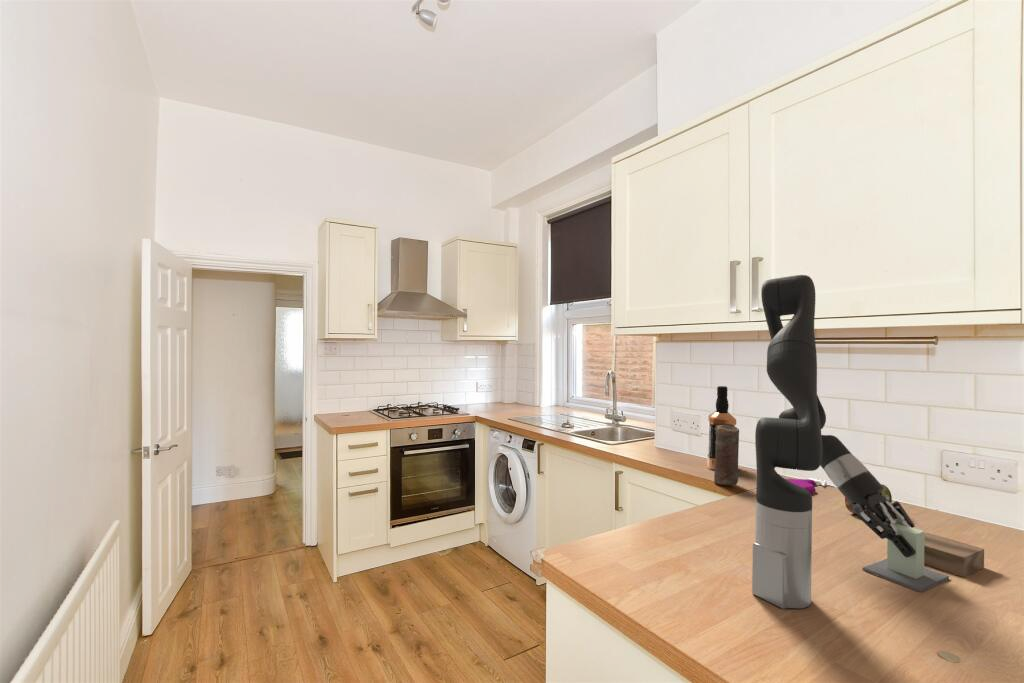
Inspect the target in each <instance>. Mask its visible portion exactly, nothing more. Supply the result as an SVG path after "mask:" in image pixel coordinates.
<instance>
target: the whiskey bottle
mask: <svg viewBox="0 0 1024 683" xmlns="http://www.w3.org/2000/svg"><path fill="white" fill-rule="evenodd" d="M716 389H717V390H716V392H717V393H716V396H717V398H716V400H715V411H714V412H712V413H711V414H709V415H708V417H707V420H708V423H709V431H708V433H709V434H708V453H707V457H706V458H707V459H706V464H707V467H708V468H707V469H709V470H713V471H715V453H716V428H717V426H718V425H729V426H734V427H736V425H737V418H735V417H734V416H733V415H732V414H731V413H730V412H729V407H730V406H729V400H728V391H729V390H728V386H726V385H725V386H724V385H718V386H717V387H716Z"/></svg>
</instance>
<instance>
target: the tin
mask: <svg viewBox="0 0 1024 683" xmlns="http://www.w3.org/2000/svg"><path fill="white" fill-rule="evenodd" d="M880 484H881V483H880ZM881 485H882V486H883V487H884V491H883V492H881V495H882V496H883V497H885V498H886V499H887V500H888V501H889V502H890V503H893V502H892V501H893V498H892V492H891V490H890V489H889V488H888V486H886V485H885V484H881ZM844 503H845V507H846V509H847V510H848V512H850V513H851V514H854V515H858V514H859V513H861V512H862V509H861V507H860V506H859V505H856V506H853V505H851V504H850V502H849V501H848V500H847V499H846V498H845V497H844Z"/></svg>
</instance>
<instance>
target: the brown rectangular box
mask: <svg viewBox="0 0 1024 683" xmlns="http://www.w3.org/2000/svg"><path fill="white" fill-rule="evenodd" d="M924 545H925V546H926V548H927V549H926V550H925V551H924V565H926V566H930V567H932V568H935V569H938V570H941V571H944V572H948V573H950V574H953V575H956V576H959V577H963V578H964V577H968V576H969V575H971V574H974V573H975V572H978V571H980V570H982V569H984V568H985V548H983V547H978V546H975V545H972V544H968V543H964V542H961V541H957V540H954V539H950V538H947V537H943V536H940V535H936V534H934V533H929V532H925V539H924Z"/></svg>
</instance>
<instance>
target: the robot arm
mask: <svg viewBox="0 0 1024 683" xmlns="http://www.w3.org/2000/svg"><path fill="white" fill-rule="evenodd" d="M760 293H761V304H762V309H763V312H764V317H765V321H766V325H767V329H768V333H769V336H770V339H771V341H770V342H769V344H768V346H767V351H766V373H767V375H768V378H769V380H770V381H771V383H772V384H773V385H774V386H775V388H776V389H777V390H778V391H779V392H780V394H781V395H782V396H784V398H786V399H787V401H788V402H789V403H790V405H791V406H792V408H789V409H785V410H783V411H781V412H780V414H779V415H778V417H769V416H768V417H767V416H766V417H761V418H760V419H758V421H757V423H756V427H755V433H754V434H755V435H754V436H755V438H754V440H755V441H754V442H755V463H756V486H755V487H756V490H755V542H754V543H753V544H752V578H751V579H752V580H751V589H752V590H751V593H752V594H753V595H755V596H757V597H758V598H760V599H763V600H765V601H767V602H769V603H771V604H773V605H775V606H777V607H778V608H781V609H783V610H785V609H805V608H808V607H809V606H811V604H812V554H813V553H812V551H813V550H812V549H813V548H812V544H813V538H812V537H813V535H812V534H813V532H812V531H813V495H812V494H811V493H810V492H809V491H807V490H806V489H804V488H802V487H800V486H798V485H796V484H794V483H791V482H789V481H788V480H786V479H787V478H784V477H783V476H782V475H780V474H779V473H778V472H777V471H776V469H775V468H779V469H788V470H797V471H806V472H808V471H809V472H813V471H816V470H818V469H819V468H820V467H821V468H822V470H823V471H824V472H825V473H826V475H827V476H828V478H829V479H830V481H831V483H833V485H834V486H835V487H836V489H837V490H838V491H840V493H841V494H842V495H843V497H844V499H845V498H846V499H847V500H848V501H849V502H850V504H851V505H853V506H856V505H859V506H860V507H861V509H862V512H861V513H859V514H858V515H857V514H856V515H857V517H858V518H859V520H860V521H862V522H863V523H864V524H865V526H867V527H868V528H869V529H870V530H871V531H873V533H874V534H875V535H877V536H878V537H879V538H880V539H882V540H884V539H886V540H891V541H892V542H893V543H894V545H895V546H896V547H897V548H898V549H899V551H900V552H901V553H902V554H903V555H904V556H905V557H910V556H912V555H914V554H915V553H916V551H915V550H914V549H913V548H912V547H911V545H910V544H909V543H908V542H907V541H906V540H905V538H904V537H903V536H902V535H901V536H899V535H900V533H899V531H898V530H897V528H896V527H895V525H894V524H895V523H897V524H900V525H904V526H908V527H911V528H915V526H916V525H915V523H914V522H913V521H912V519H911V517H910V516H909V515H908V513H907V512H906V510H905V508H904V507H903V506H902V505H901V503H900V502H899V501H897V500H896V501H894V502H891V503H890V502H889V501H888V500H887V499H886V498H885V497H883V496H882V495H881V492H883V491H884V487H883V486H882V485H883V484H882V485H881V483H880V482H879V480H878V479H877V478H876V476H874V475H873V474H872V473H871V471H869V469H868V468H867V467H866V466H865V465H864V464H863V463H862V461H860V460H859V459H858V457H856V456H854V454H853V453H852V452H851V451H850V450H849V448H848V447H846V445H844V443H843V442H842V441H841V440H840V439H839V438H838V437H837V436H835V435H832V434H831V435H830V434H826V435H825V434H822V430H823V429H824V427H825V424H826V422H827V415H826V414H827V413H826V412H825V409H824V406H823V405H822V402H821V401H820V400H821V399H820V397H819V396H818V358H817V357H818V355H817V347H816V346H817V345H816V336H815V318H816V317H815V315H816V314H815V313H816V287H815V284H814V281H813V279H812V278H811V277H810V276H809V275H807V274H798V275H797V274H796V275H789V276H783V277H777V278H771V279H767V280H764V281H763V283H762V285H761V292H760ZM791 315H793V316H792V318H790V320H789V321H788V322H787V323H785V325H783V322H782V319H781V317H784V316H791ZM889 527H890V528H889ZM926 549H927V548H926V546H925V545H924V551H925V550H926Z"/></svg>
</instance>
